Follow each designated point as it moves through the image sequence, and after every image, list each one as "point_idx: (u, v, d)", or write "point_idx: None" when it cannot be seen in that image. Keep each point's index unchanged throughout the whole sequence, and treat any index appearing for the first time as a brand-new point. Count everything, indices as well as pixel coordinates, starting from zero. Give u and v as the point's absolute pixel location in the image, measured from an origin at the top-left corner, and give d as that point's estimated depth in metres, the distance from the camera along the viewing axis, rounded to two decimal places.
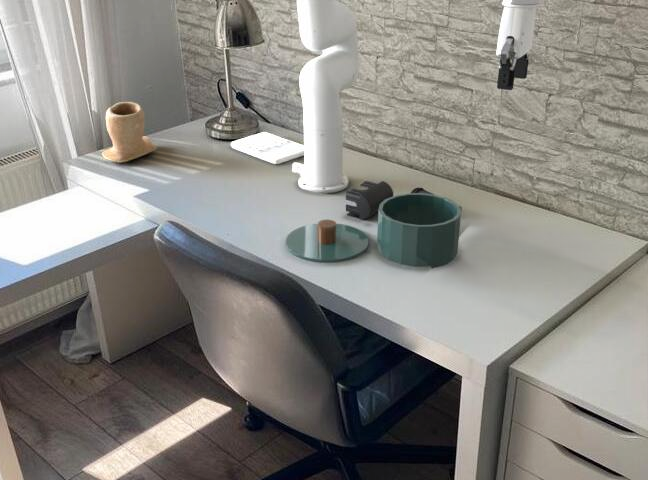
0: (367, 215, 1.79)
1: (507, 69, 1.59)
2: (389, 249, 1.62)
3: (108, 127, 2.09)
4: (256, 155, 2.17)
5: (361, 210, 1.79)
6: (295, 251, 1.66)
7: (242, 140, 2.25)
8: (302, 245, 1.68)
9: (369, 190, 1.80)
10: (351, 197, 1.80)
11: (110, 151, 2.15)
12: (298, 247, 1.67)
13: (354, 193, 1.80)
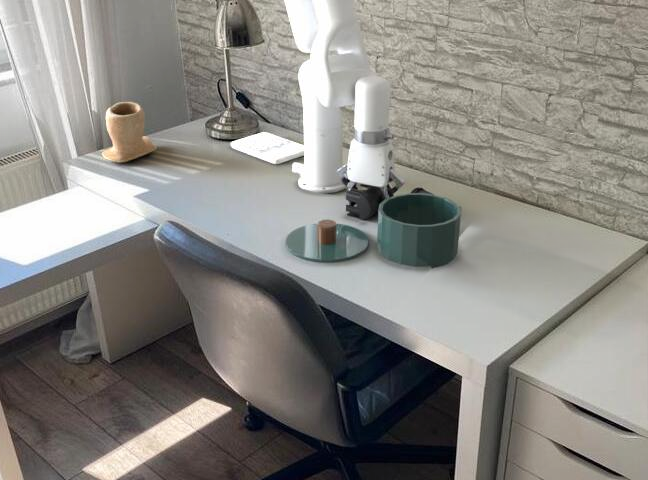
0: (367, 215, 1.79)
1: None
2: (389, 249, 1.62)
3: (108, 127, 2.09)
4: (256, 155, 2.17)
5: (361, 210, 1.79)
6: (295, 251, 1.66)
7: (242, 140, 2.25)
8: (302, 245, 1.68)
9: (369, 190, 1.80)
10: (351, 197, 1.80)
11: (110, 151, 2.15)
12: (298, 247, 1.67)
13: (354, 193, 1.80)
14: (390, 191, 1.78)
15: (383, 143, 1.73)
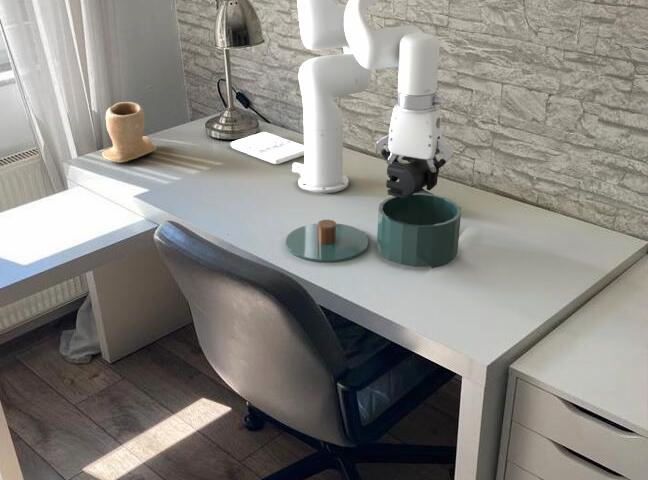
0: (411, 191, 1.59)
1: None
2: (389, 249, 1.62)
3: (108, 127, 2.09)
4: (256, 155, 2.17)
5: (404, 186, 1.59)
6: (295, 251, 1.66)
7: (242, 140, 2.25)
8: (302, 245, 1.68)
9: (413, 163, 1.60)
10: (393, 171, 1.60)
11: (110, 151, 2.15)
12: (298, 247, 1.67)
13: (396, 167, 1.60)
14: (437, 164, 1.58)
15: (430, 109, 1.53)
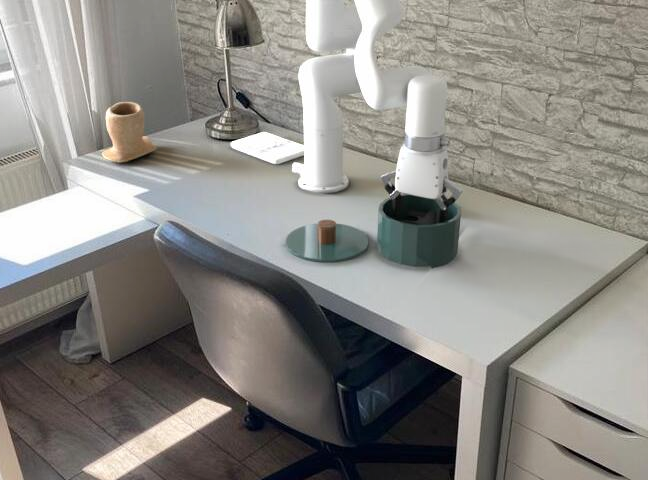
0: None
1: None
2: (389, 249, 1.62)
3: (108, 127, 2.09)
4: (256, 155, 2.17)
5: None
6: (295, 251, 1.66)
7: (242, 140, 2.25)
8: (302, 245, 1.68)
9: (423, 222, 1.64)
10: None
11: (110, 151, 2.15)
12: (298, 247, 1.67)
13: None
14: (447, 202, 1.59)
15: (438, 150, 1.54)
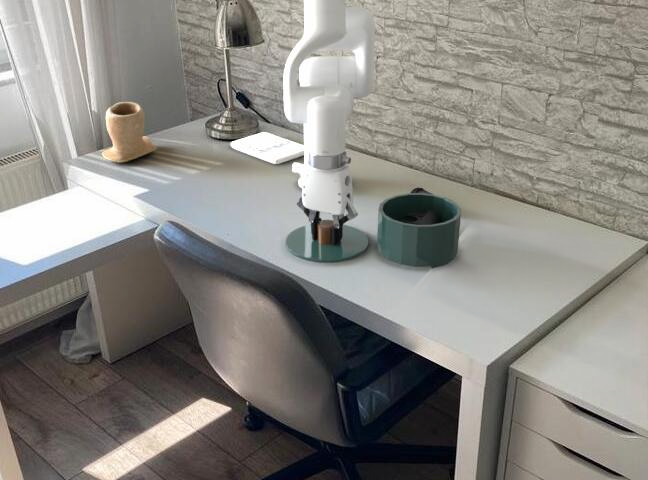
0: None
1: None
2: (389, 249, 1.62)
3: (108, 127, 2.09)
4: (256, 155, 2.17)
5: None
6: (295, 251, 1.66)
7: (242, 140, 2.25)
8: (302, 245, 1.68)
9: (422, 221, 1.64)
10: None
11: (110, 151, 2.15)
12: (298, 247, 1.67)
13: None
14: (340, 221, 1.65)
15: (339, 168, 1.59)
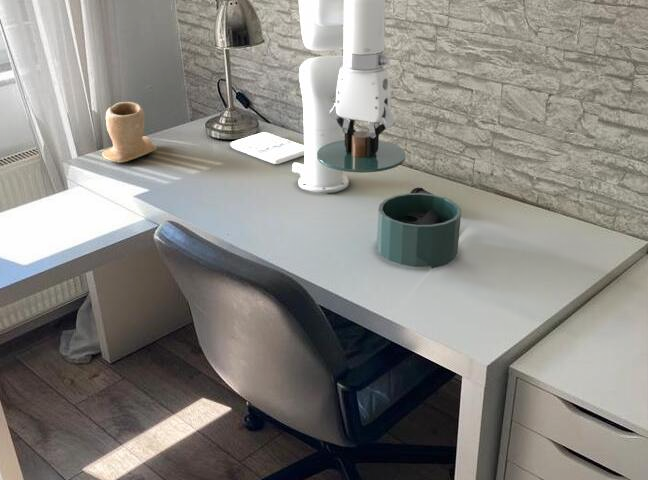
0: None
1: None
2: (389, 249, 1.62)
3: (108, 127, 2.09)
4: (256, 155, 2.17)
5: None
6: (328, 162, 1.55)
7: (242, 140, 2.25)
8: (335, 157, 1.57)
9: (422, 221, 1.64)
10: None
11: (110, 151, 2.15)
12: (330, 159, 1.56)
13: None
14: (377, 129, 1.54)
15: (377, 69, 1.48)
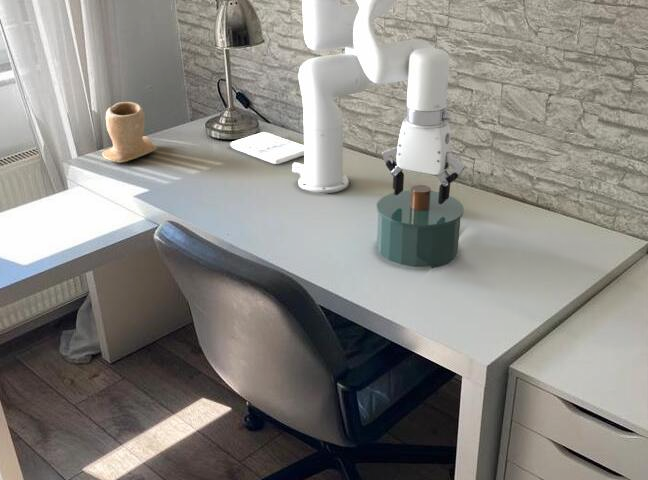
0: None
1: None
2: (389, 249, 1.62)
3: (108, 127, 2.09)
4: (256, 155, 2.17)
5: None
6: (389, 217, 1.59)
7: (242, 140, 2.25)
8: (395, 211, 1.61)
9: None
10: None
11: (110, 151, 2.15)
12: (391, 213, 1.60)
13: None
14: (449, 178, 1.56)
15: (440, 124, 1.52)
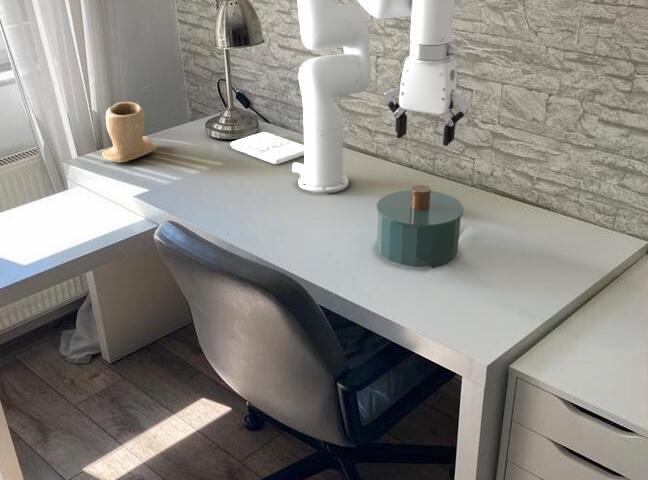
0: None
1: None
2: (389, 249, 1.62)
3: (108, 127, 2.09)
4: (256, 155, 2.17)
5: None
6: (389, 217, 1.59)
7: (242, 140, 2.25)
8: (395, 211, 1.61)
9: None
10: None
11: (110, 151, 2.15)
12: (391, 213, 1.60)
13: None
14: (455, 117, 1.50)
15: (445, 60, 1.46)
